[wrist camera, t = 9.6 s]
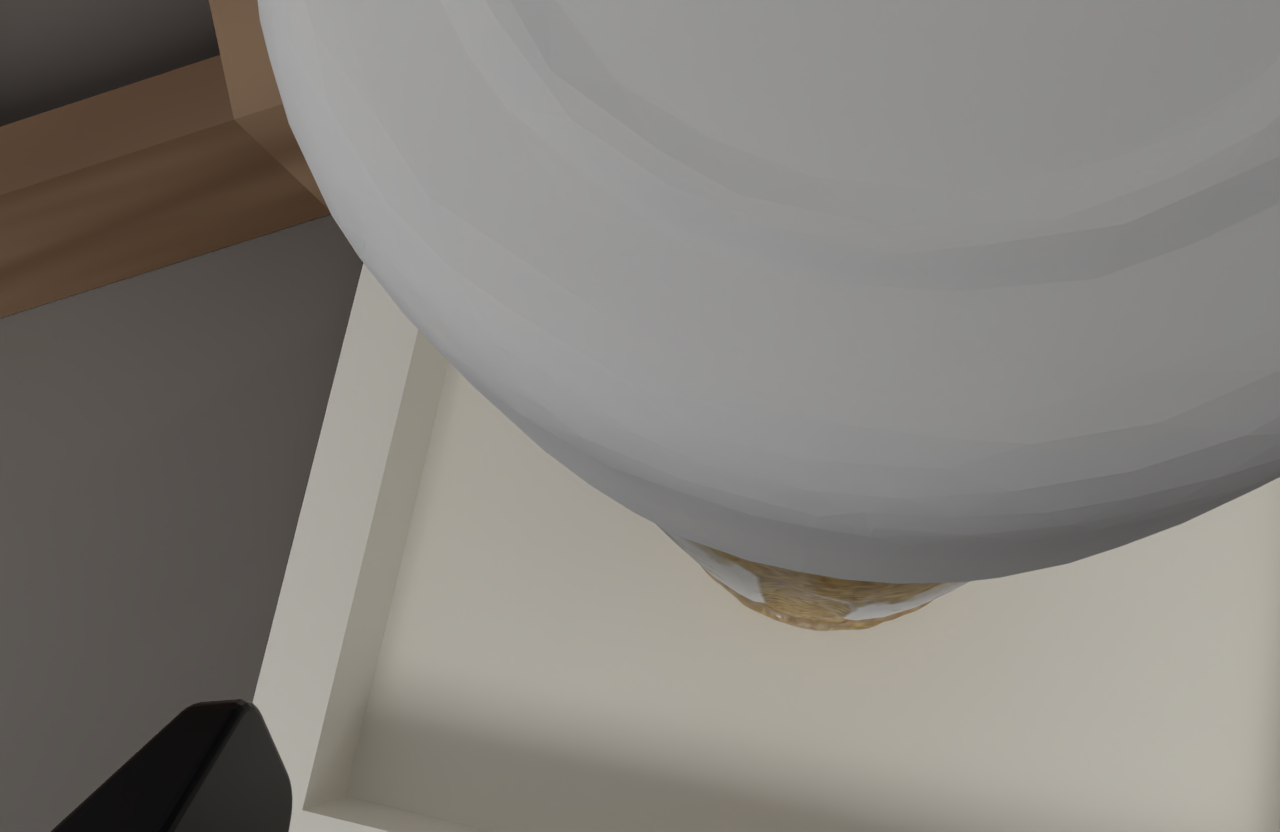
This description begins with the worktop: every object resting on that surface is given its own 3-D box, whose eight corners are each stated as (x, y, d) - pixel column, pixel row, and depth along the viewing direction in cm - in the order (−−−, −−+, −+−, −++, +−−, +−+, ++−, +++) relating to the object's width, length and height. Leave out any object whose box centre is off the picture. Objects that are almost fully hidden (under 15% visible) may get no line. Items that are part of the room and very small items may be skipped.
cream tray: (1302, 1094, 15) (1399, 1179, 13) (291, 842, 17) (209, 873, 15) (1403, 88, 18) (1501, -2, 15) (500, -20, 20) (458, -114, 17)
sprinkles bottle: (1005, 630, 16) (2007, 529, 3) (664, 632, 16) (139, 560, 3) (984, 299, 17) (1661, -974, 4) (662, 312, 17) (240, -742, 4)
